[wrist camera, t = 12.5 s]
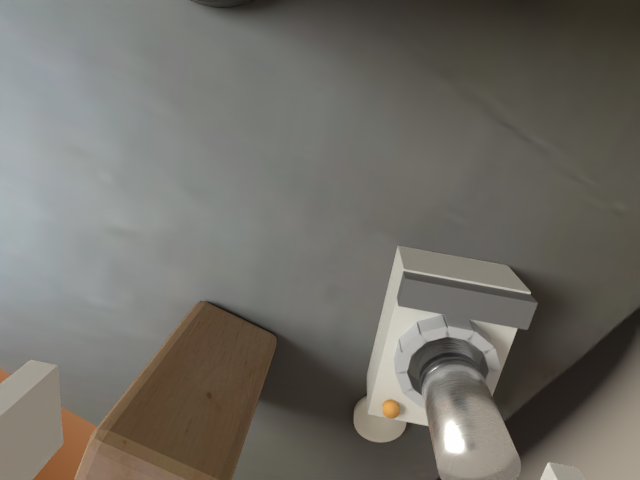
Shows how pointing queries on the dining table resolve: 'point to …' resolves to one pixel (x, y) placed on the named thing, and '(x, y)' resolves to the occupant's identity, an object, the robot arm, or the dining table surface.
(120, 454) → the wooden block
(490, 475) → the grey tall rounded cylinder
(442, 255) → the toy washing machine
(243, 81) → the dining table surface
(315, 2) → the dining table surface
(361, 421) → the rear cap
